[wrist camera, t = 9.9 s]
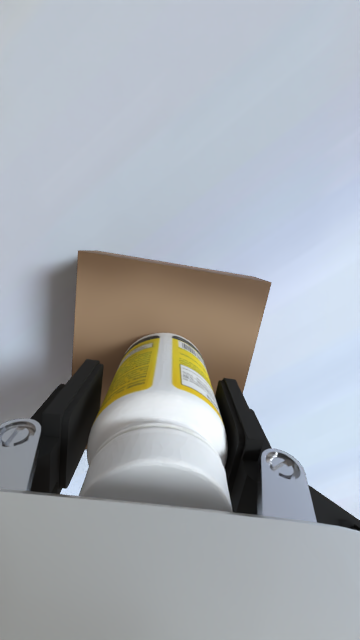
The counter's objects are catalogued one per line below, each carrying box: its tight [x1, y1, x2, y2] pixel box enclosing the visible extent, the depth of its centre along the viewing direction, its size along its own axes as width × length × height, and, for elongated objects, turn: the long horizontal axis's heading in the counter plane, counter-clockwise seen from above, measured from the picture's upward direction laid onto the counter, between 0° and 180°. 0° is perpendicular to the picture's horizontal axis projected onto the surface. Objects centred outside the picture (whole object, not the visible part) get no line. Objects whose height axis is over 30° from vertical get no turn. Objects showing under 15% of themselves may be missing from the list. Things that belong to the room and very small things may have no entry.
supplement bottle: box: [79, 333, 233, 512], centre depth 10 cm, size 5×5×8 cm
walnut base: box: [72, 251, 271, 449], centre depth 16 cm, size 12×10×3 cm
